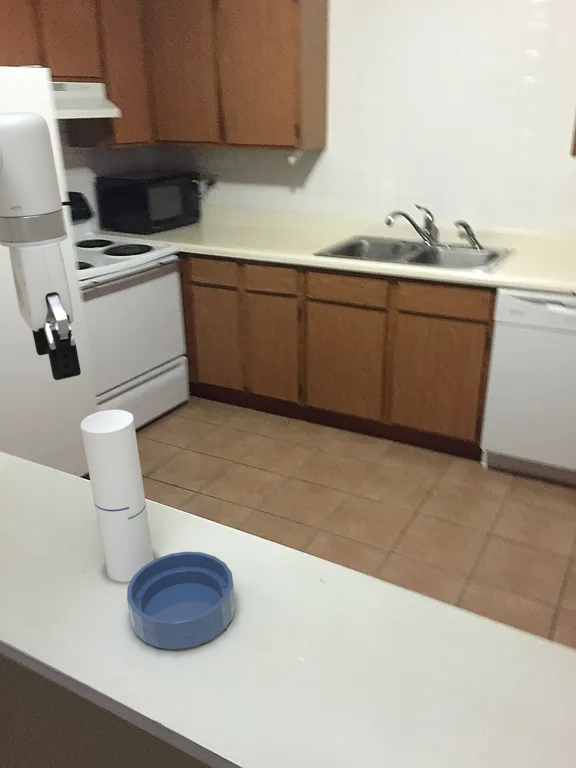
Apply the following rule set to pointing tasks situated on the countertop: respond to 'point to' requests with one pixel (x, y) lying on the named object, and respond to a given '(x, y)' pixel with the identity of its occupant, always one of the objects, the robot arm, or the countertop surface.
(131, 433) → the cylindrical container
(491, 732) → the countertop surface
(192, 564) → the bowl
